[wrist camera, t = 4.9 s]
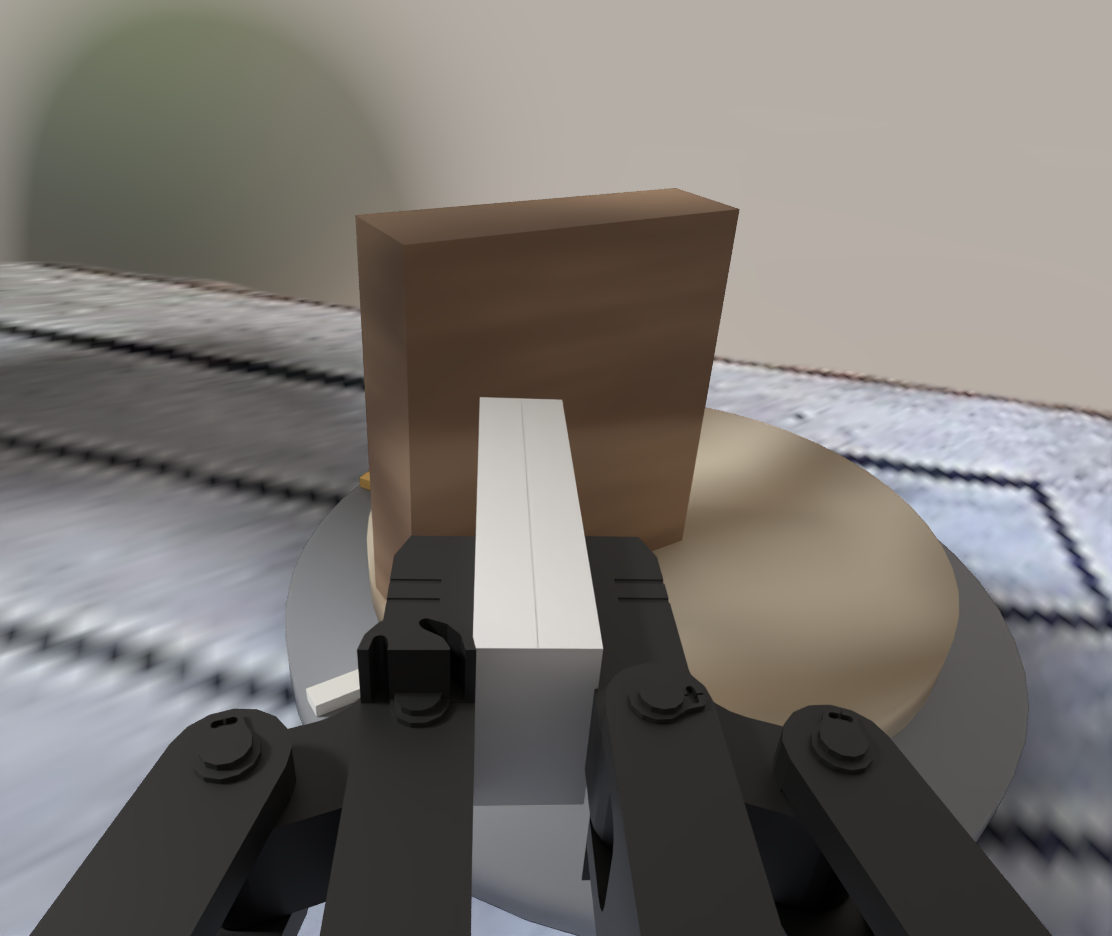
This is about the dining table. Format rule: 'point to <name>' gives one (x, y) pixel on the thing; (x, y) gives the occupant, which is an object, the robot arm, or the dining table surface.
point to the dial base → (561, 830)
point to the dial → (644, 442)
